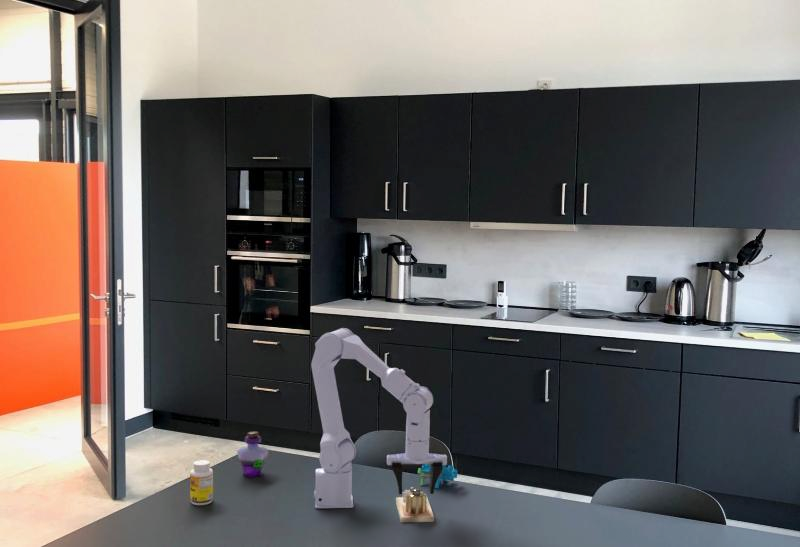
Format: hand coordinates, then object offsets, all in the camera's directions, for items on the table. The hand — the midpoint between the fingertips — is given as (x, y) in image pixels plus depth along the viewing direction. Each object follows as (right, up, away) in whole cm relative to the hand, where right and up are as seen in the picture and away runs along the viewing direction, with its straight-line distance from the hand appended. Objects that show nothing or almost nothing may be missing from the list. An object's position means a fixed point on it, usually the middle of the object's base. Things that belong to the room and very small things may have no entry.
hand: (415, 492), depth 192 cm
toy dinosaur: (+6, -4, +22) cm, 24 cm away
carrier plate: (0, -6, +3) cm, 6 cm away
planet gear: (0, -4, 0) cm, 4 cm away
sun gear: (-1, -4, +7) cm, 8 cm away
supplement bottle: (-54, -4, +6) cm, 54 cm away
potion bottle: (-45, -3, +27) cm, 52 cm away
